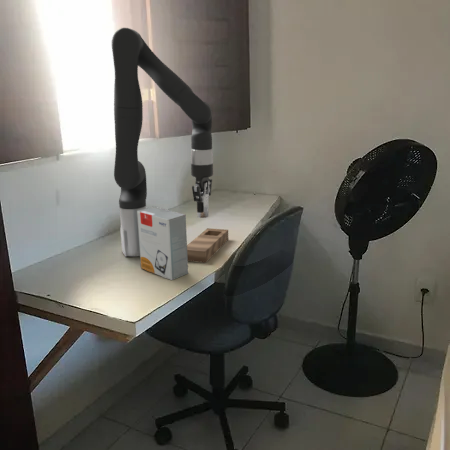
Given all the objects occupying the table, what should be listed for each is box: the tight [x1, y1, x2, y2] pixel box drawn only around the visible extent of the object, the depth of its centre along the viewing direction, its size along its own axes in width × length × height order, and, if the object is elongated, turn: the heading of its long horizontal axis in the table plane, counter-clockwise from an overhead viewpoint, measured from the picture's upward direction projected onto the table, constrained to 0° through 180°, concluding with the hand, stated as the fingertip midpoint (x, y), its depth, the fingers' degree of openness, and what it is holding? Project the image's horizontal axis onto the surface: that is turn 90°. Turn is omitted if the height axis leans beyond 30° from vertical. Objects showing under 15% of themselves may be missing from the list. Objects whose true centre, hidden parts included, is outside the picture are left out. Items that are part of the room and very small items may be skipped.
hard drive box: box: [137, 206, 189, 281], centre depth 162 cm, size 16×8×20 cm, turn 47°
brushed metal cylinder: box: [196, 193, 210, 219], centre depth 178 cm, size 4×4×8 cm
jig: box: [187, 227, 229, 263], centre depth 184 cm, size 25×8×4 cm, turn 162°
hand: (202, 210), depth 178 cm, fingers closed on brushed metal cylinder, 4 cm apart
